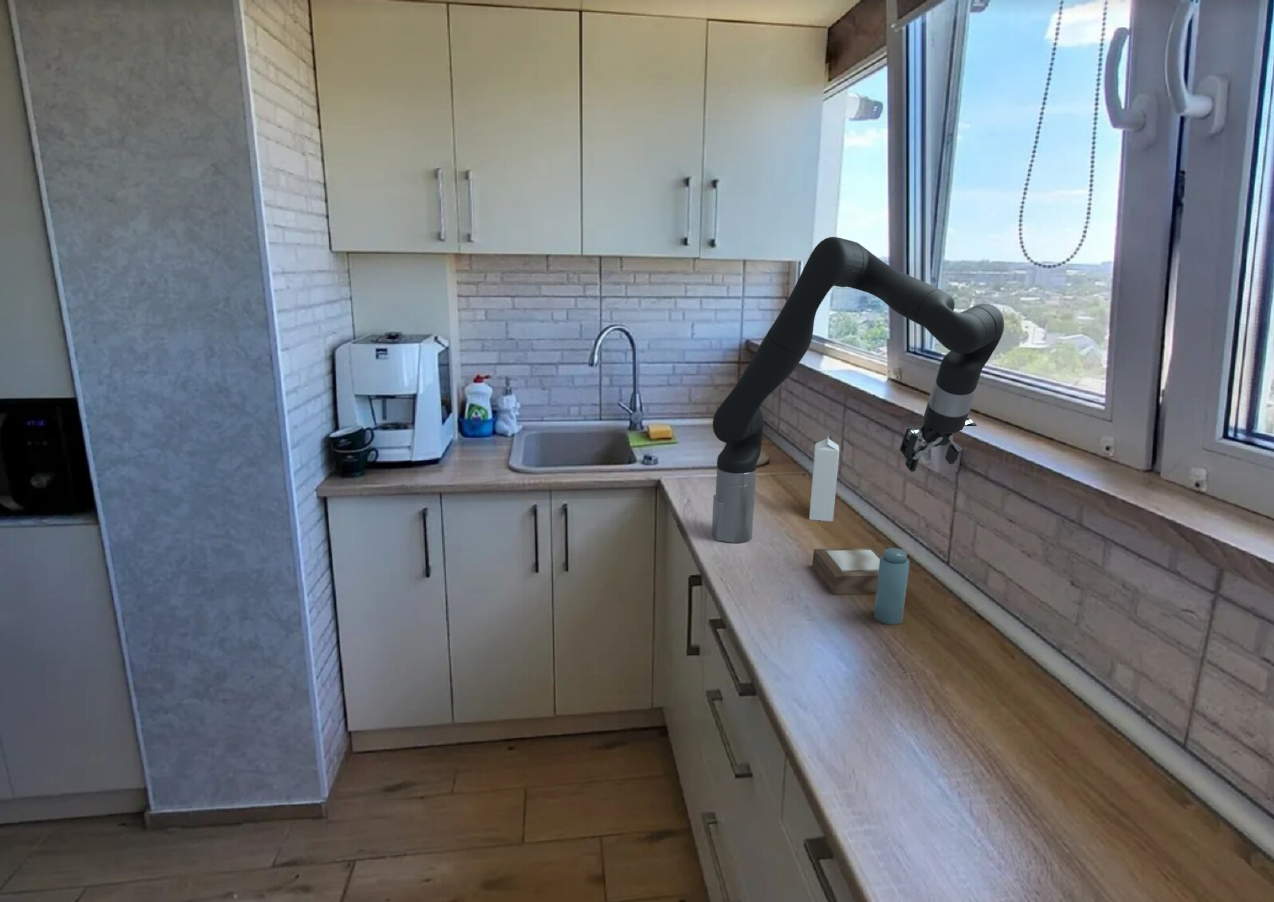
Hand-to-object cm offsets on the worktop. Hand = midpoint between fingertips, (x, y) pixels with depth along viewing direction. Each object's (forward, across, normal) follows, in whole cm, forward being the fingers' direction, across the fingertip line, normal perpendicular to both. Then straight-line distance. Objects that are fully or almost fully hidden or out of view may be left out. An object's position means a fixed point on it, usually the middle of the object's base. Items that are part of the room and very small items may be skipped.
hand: (929, 465), depth 150 cm
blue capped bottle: (+14, +18, +23) cm, 33 cm away
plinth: (+22, +16, +8) cm, 28 cm away
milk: (+39, +8, -24) cm, 46 cm away
